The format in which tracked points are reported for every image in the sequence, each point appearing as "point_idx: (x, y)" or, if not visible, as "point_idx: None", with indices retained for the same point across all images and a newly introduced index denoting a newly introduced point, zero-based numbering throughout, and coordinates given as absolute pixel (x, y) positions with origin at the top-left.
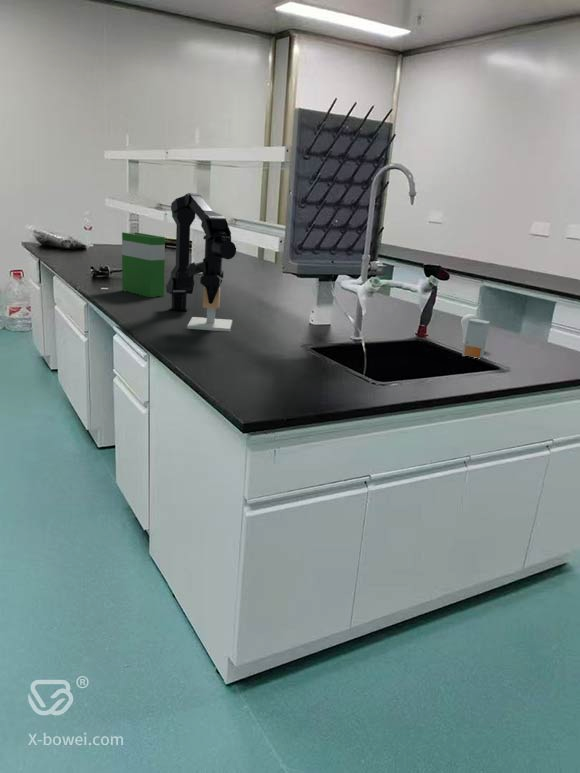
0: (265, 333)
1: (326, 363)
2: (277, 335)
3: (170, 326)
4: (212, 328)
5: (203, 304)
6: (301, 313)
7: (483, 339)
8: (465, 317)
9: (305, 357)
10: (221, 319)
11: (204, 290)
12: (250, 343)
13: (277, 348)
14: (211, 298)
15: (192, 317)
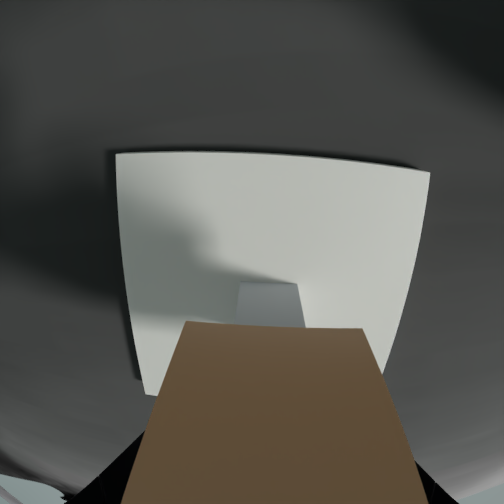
0: None
1: (10, 470)
2: None
3: (156, 35)
4: (133, 314)
5: (177, 347)
6: (478, 489)
7: None
8: None
9: (15, 461)
10: (378, 359)
11: (130, 502)
12: (30, 409)
13: (34, 447)
14: None
15: (413, 172)
